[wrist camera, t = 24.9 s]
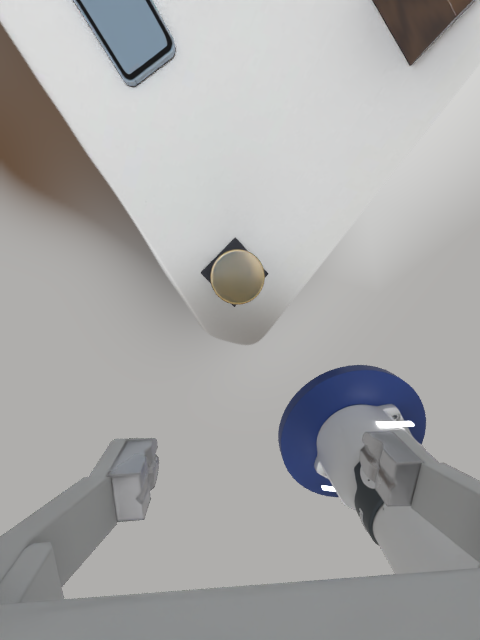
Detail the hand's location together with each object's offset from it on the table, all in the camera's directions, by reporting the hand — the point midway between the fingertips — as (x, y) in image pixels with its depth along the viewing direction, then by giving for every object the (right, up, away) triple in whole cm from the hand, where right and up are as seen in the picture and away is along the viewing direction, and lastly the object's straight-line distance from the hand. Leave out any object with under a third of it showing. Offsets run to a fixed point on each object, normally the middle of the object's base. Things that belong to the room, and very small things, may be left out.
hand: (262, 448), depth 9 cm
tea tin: (-2, +12, +25) cm, 27 cm away
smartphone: (-15, +41, +17) cm, 47 cm away
